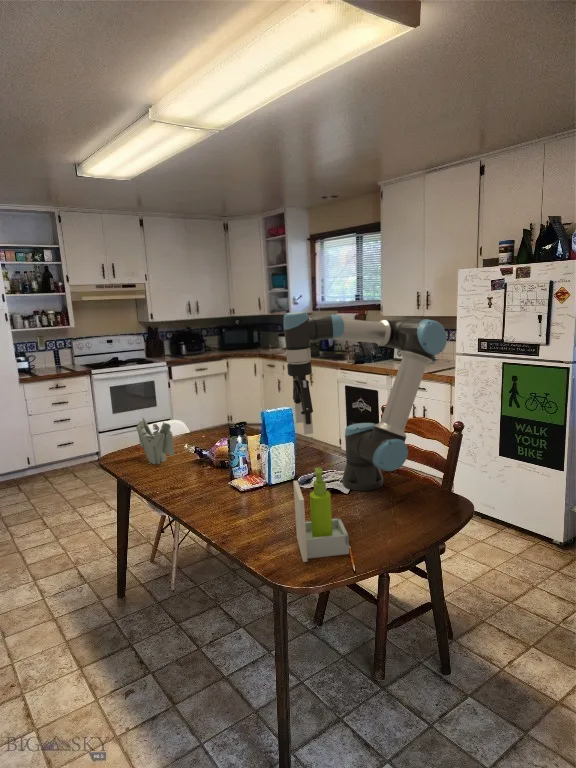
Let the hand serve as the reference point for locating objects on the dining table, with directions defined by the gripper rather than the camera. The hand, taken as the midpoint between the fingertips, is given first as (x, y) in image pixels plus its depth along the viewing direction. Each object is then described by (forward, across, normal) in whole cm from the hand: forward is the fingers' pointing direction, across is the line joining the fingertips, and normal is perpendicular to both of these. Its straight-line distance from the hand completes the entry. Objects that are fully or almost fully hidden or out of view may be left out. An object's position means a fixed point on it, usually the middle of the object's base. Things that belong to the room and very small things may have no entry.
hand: (304, 427), depth 156 cm
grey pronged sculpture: (+29, -74, -57) cm, 98 cm away
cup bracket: (+30, +21, -1) cm, 36 cm away
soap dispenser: (+27, +20, -1) cm, 34 cm away
